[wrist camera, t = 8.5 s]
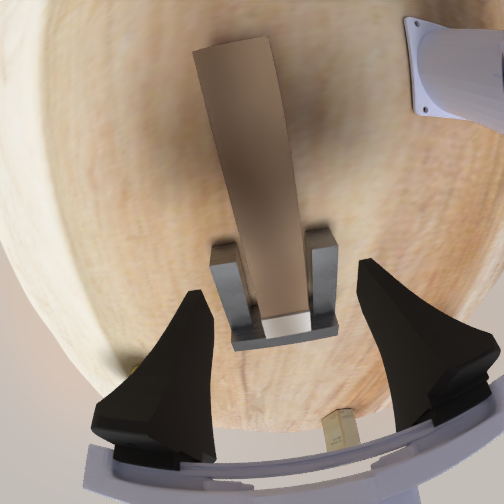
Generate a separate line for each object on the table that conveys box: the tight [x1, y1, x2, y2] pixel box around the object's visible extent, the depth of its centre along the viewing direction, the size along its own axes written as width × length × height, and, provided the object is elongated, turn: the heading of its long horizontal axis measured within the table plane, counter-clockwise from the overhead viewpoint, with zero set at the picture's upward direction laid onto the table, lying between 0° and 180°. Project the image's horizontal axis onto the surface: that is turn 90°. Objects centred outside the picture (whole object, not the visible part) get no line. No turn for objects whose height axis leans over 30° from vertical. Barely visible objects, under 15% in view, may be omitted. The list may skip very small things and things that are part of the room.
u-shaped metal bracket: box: [209, 228, 339, 351], centre depth 23 cm, size 10×9×4 cm
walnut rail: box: [192, 36, 311, 339], centre depth 17 cm, size 4×20×5 cm, turn 11°
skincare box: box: [322, 409, 361, 468], centre depth 43 cm, size 6×4×12 cm
